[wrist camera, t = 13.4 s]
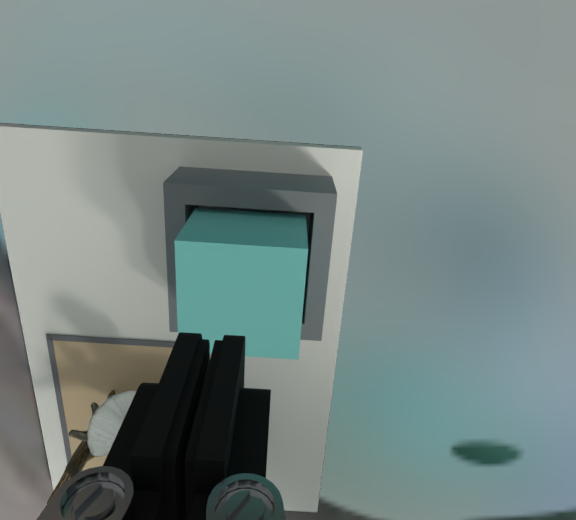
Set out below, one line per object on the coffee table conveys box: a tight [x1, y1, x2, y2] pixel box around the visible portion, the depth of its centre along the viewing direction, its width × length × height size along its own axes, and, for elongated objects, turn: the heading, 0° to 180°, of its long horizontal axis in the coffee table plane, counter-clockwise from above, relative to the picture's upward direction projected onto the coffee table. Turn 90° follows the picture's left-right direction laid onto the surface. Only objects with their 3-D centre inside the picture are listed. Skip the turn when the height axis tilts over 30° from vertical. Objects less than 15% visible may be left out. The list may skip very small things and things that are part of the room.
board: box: [0, 123, 363, 512], centre depth 23 cm, size 16×22×4 cm
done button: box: [174, 208, 308, 360], centre depth 18 cm, size 4×4×4 cm
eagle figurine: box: [47, 390, 136, 504], centre depth 23 cm, size 8×7×9 cm
